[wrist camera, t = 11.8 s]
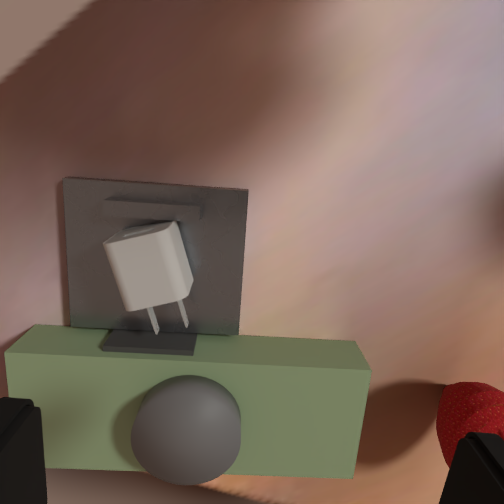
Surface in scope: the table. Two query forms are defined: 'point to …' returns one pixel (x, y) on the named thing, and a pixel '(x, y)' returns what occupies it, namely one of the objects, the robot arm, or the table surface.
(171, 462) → the green slab with knob
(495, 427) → the strawberry
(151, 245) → the usb wall charger
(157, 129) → the table surface
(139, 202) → the grey plate with ledge
